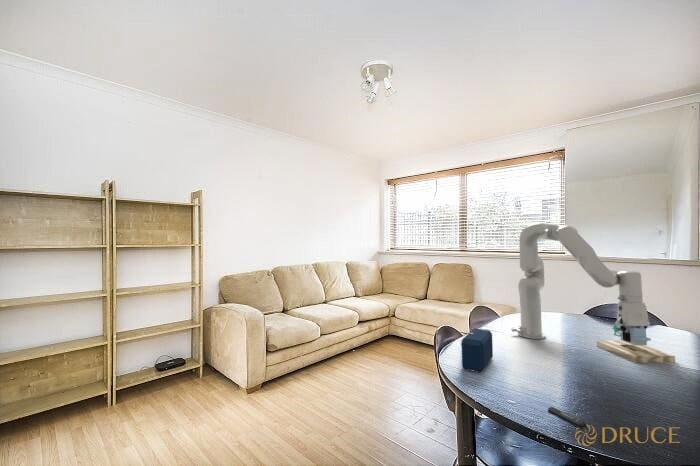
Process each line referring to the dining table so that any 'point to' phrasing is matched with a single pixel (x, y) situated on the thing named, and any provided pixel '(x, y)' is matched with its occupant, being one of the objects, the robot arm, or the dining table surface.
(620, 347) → the frame
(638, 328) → the block
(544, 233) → the robot arm
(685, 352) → the dining table surface
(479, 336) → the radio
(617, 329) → the blue toy dinosaur
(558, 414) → the dark grey bar
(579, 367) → the dining table surface
